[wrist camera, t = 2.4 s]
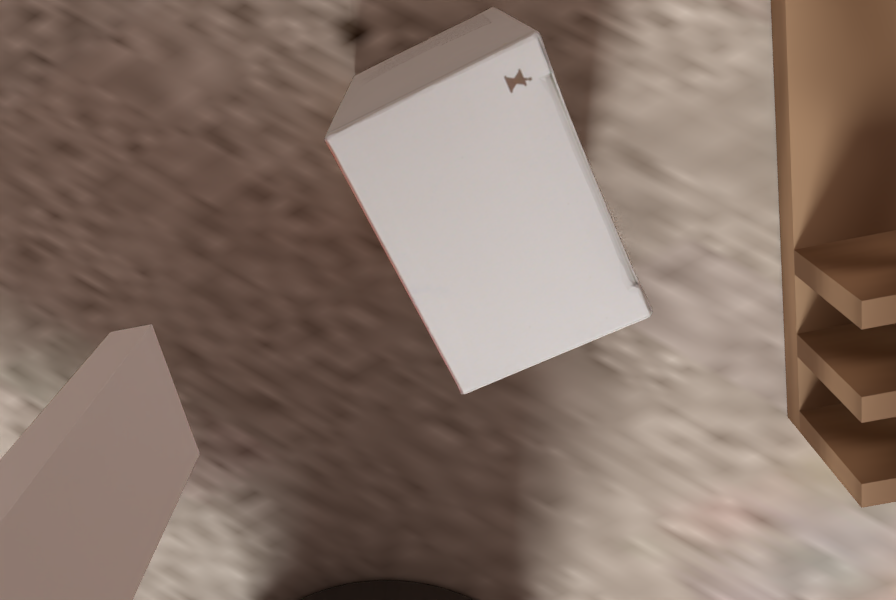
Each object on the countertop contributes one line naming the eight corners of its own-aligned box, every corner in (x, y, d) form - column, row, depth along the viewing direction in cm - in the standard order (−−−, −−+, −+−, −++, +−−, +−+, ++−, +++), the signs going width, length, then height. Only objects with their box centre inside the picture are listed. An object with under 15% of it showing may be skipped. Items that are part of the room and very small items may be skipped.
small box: (351, 74, 28) (313, 130, 19) (496, 2, 28) (537, 20, 18) (448, 268, 31) (459, 404, 21) (582, 207, 30) (658, 320, 21)
